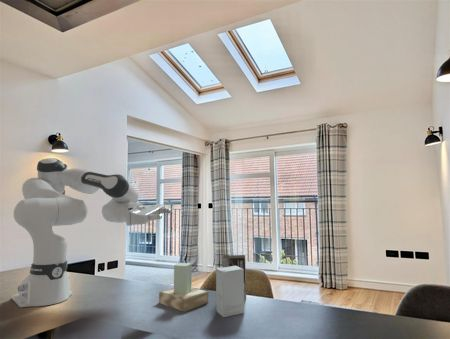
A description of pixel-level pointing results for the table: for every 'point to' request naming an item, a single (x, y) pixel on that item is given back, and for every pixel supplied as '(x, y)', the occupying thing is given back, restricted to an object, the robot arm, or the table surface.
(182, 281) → the sage block
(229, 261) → the coffee box
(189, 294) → the oak box
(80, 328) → the table surface
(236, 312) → the skincare box
